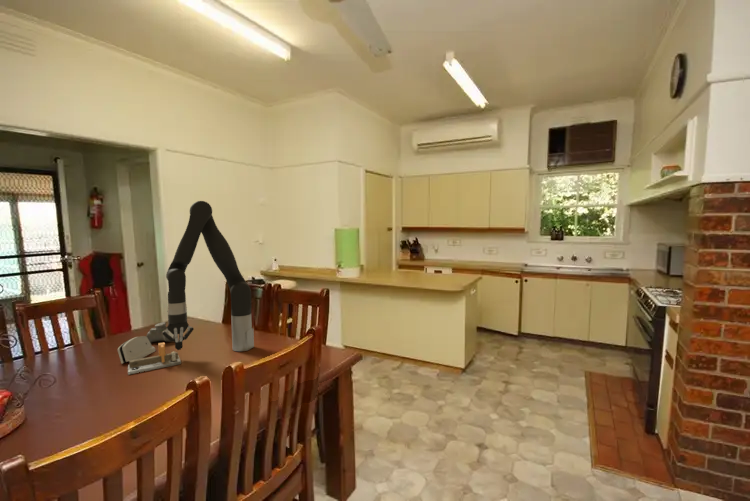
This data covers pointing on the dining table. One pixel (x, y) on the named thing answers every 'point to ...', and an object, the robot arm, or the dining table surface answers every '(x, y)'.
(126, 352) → the hinge
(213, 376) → the dining table surface
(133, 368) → the grey piece
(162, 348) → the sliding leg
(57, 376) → the dining table surface
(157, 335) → the pipe fitting
